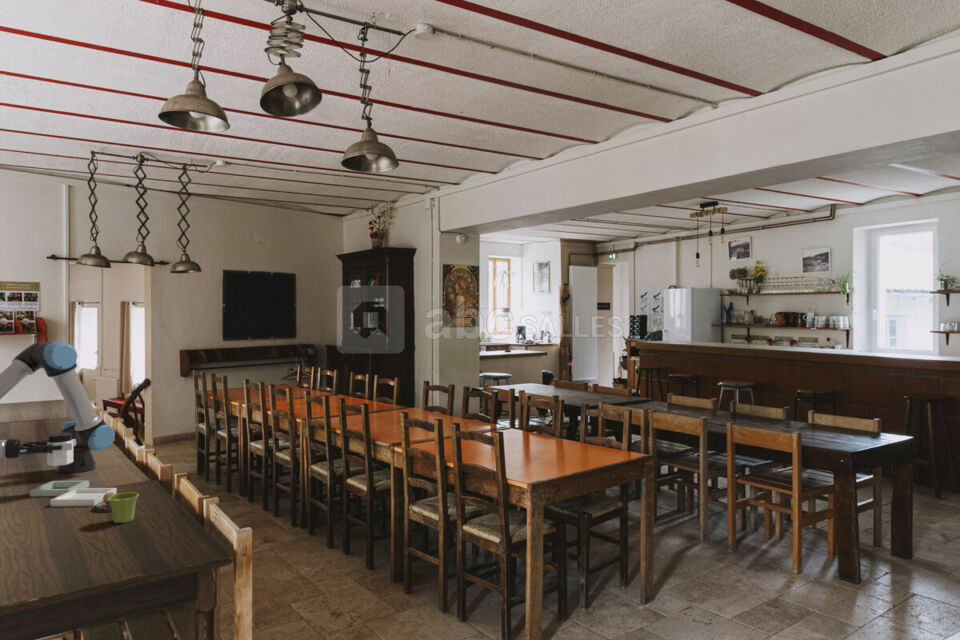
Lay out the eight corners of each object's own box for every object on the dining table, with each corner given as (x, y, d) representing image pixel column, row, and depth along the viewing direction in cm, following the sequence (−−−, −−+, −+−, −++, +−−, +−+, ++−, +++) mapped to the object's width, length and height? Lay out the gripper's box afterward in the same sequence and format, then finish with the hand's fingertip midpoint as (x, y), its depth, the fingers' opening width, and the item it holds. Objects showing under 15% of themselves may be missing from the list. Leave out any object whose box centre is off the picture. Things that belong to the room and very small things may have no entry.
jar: (46, 467, 249) (46, 437, 249) (47, 463, 256) (47, 434, 256) (73, 464, 254) (73, 434, 254) (73, 460, 261) (73, 431, 261)
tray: (75, 494, 251) (75, 488, 251) (116, 493, 252) (116, 487, 252) (50, 506, 235) (50, 499, 235) (94, 505, 236) (94, 499, 236)
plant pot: (117, 527, 212) (117, 501, 212) (102, 522, 217) (102, 497, 217) (144, 519, 220) (144, 495, 220) (129, 514, 225) (129, 491, 225)
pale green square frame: (52, 486, 262) (52, 480, 262) (89, 486, 263) (89, 480, 263) (30, 496, 248) (30, 490, 248) (68, 495, 249) (68, 489, 249)
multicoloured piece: (123, 512, 229) (123, 491, 229) (88, 513, 227) (88, 493, 227) (135, 502, 241) (135, 483, 241) (102, 504, 239) (102, 484, 239)
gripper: (13, 453, 257) (78, 448, 267) (-1, 464, 238) (69, 458, 247) (13, 435, 257) (78, 431, 266) (-1, 444, 238) (69, 439, 247)
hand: (73, 444), depth 257 cm, fingers closed on jar, 8 cm apart
